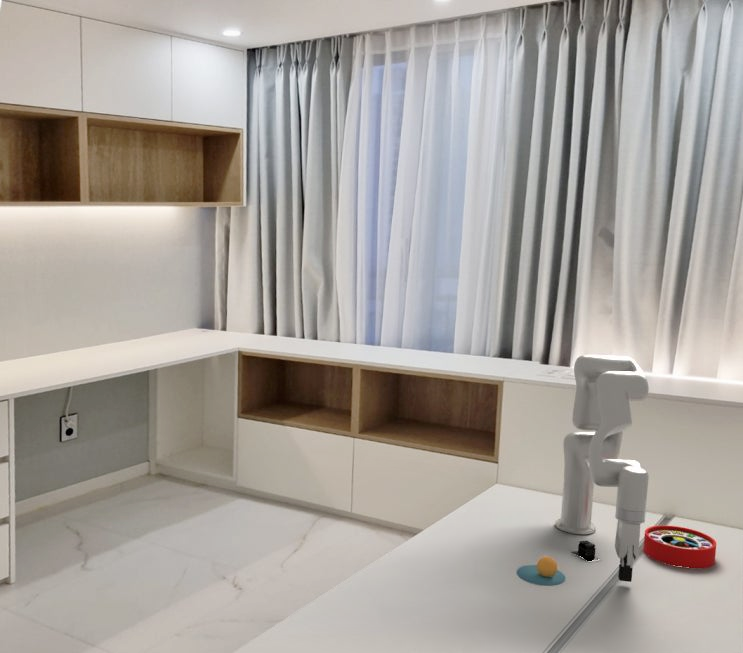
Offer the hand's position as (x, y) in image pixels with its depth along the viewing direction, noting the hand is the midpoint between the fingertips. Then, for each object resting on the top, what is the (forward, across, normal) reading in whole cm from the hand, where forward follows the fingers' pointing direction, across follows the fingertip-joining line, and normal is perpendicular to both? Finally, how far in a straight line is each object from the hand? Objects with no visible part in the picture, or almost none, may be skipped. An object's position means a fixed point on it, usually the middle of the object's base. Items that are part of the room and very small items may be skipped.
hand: (624, 579), depth 210 cm
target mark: (+2, 0, -22) cm, 22 cm away
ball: (-1, 0, -21) cm, 21 cm away
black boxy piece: (+2, -18, -8) cm, 20 cm away
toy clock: (+2, -28, +19) cm, 34 cm away
